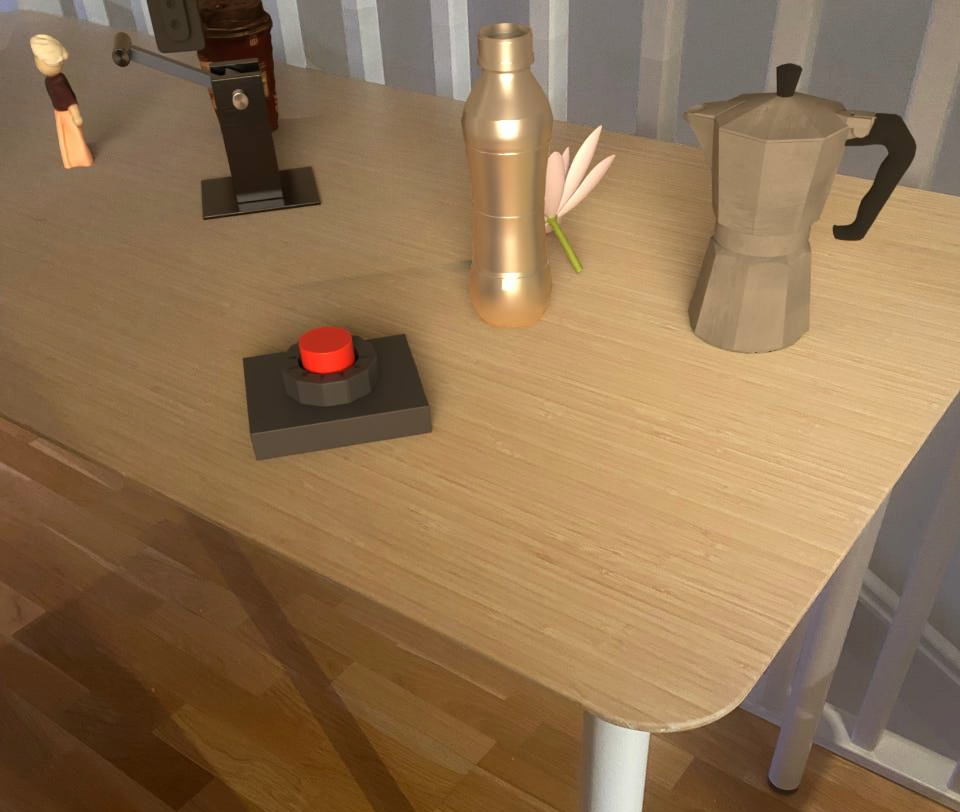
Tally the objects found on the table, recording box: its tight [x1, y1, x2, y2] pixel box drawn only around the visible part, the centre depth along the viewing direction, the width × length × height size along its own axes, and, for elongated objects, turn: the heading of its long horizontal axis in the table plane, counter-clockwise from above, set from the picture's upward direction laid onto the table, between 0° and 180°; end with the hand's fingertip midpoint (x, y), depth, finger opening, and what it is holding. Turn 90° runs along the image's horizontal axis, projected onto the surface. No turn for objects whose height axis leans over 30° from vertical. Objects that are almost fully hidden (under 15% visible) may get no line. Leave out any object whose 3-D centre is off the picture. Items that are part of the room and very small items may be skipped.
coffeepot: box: [681, 62, 918, 354], centre depth 69 cm, size 15×9×18 cm, turn 67°
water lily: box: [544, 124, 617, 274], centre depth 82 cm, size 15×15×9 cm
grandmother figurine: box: [29, 33, 94, 170], centre depth 99 cm, size 8×4×13 cm, turn 43°
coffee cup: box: [196, 0, 280, 134], centre depth 103 cm, size 9×8×13 cm
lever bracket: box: [200, 58, 322, 221], centre depth 91 cm, size 11×9×12 cm
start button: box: [298, 326, 355, 375], centre depth 67 cm, size 4×4×2 cm
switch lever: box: [111, 31, 240, 89], centre depth 87 cm, size 12×5×2 cm, turn 102°
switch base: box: [242, 333, 433, 462], centre depth 69 cm, size 12×10×4 cm
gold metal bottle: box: [460, 22, 554, 328], centre depth 71 cm, size 6×7×20 cm
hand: (182, 47), depth 68 cm, fingers closed
